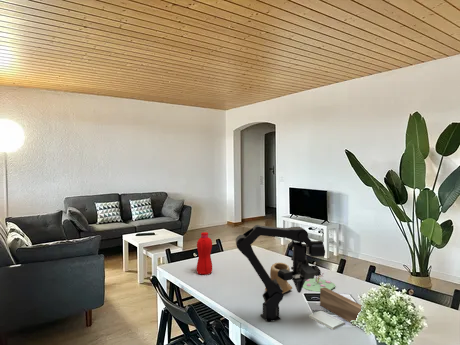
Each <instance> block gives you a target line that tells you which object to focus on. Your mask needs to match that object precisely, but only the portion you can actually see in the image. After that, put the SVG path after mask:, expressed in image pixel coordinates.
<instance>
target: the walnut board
mask: <svg viewBox="0 0 460 345" xmlns="http://www.w3.org/2000/svg"><path fill="white" fill-rule="evenodd" d="M319 295H320V296H319V304H320V305H319V306H321V307H322V306H323V308H324V309H326V310H328V311H329V310H330V311H329V312H332V313H333V314H334V315H336V316H338V317H340V318H341V319H344V320H345V321H347V322H348V323H350V321H351V320H356V318H357V315H358V313H359V312H360V311H361V306H363V305H362V304H360V303H358V302H355V301H354V300H351V299H350V298H348V297H345V296H344V295H341V294H339V293H337V292H335V291H333V289H331V290H330V289H328V288H325V287H324V288H320V292H319Z"/></svg>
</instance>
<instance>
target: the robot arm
mask: <svg viewBox="0 0 460 345" xmlns="http://www.w3.org/2000/svg"><path fill="white" fill-rule="evenodd" d="M260 236H263V237H264V236H265V237H274V238H285V239H287V240H288V239H289V240H290V242H289V243H288V246H289V247H290V248H292V257H290V260H291V261H292V266H290V269H291V270H290V271H288V270H287V269H283V270H279V271H278V277H280V278H281V279H283V280H287V281H292V282H293V285H294V286H295V289H296V291H297V293H299V294H300V293H302V289H303V288H302V287H303V285H304V283H305V281H306V280H308V279H314V278H315V277H318V276H320V275H322V272H321V269H320V268H319V267H318V265H310V264H309V262H310V261H309V260H308V258H307V255H309V257H310V258H312V257H313V258H317V257H319V258H324V257H325V256H326V249H325V246H324V241H323V240H311V239H310V238H309V233H308V231H307V230H306V229H304V228H303V227H301V226H290V227H277V226H276V227H275V226H266V225H260V224H255V225H253V226H252V228H250V229H249V230H247V231H245V232H243V234H239V235H238V236H236V237H235V246H236V248H237V250H238V251H240V253H241V254H242V255H243V256H244V257H245V258H247V260H248V261H249V264H251V266H252V267H253V269H254V271H255V272H256V274H257V276H258V277H259V279H260V281H262V283H263V284H264V287H265V288H266V290H267V291H266V290H265V292H264V293H263V294H262V298H263V301H264V302H263V303H262V314H260V317H261V318H263V319H264V320H265V322H267V323H271V322H274V321H275V322H276V321H279V320H281V316H280V306H279V305H280V303H281V301H283V298H284V293H282V292H283V290H282V288H281V286H280V285H279V284H278V282H277V280H276V279H274V280H272V279H271V277H270V274H268V272H267V271H266V269H265V267H264V266H263V264H262V262H261V261H260V260H259V258H258V257H257V255H256V254H255V252H254V249H253V247H252V244H253V243H254V242H256V240H257V239H258V238H259V237H260Z"/></svg>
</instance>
